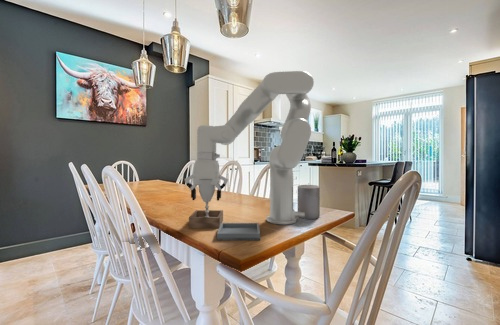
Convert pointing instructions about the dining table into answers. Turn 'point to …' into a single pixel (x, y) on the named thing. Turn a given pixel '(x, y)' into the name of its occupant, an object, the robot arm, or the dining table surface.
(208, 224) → the brown square frame
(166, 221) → the dining table surface
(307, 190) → the pillar candle
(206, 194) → the chalice
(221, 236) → the tray
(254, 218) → the dining table surface
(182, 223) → the dining table surface
